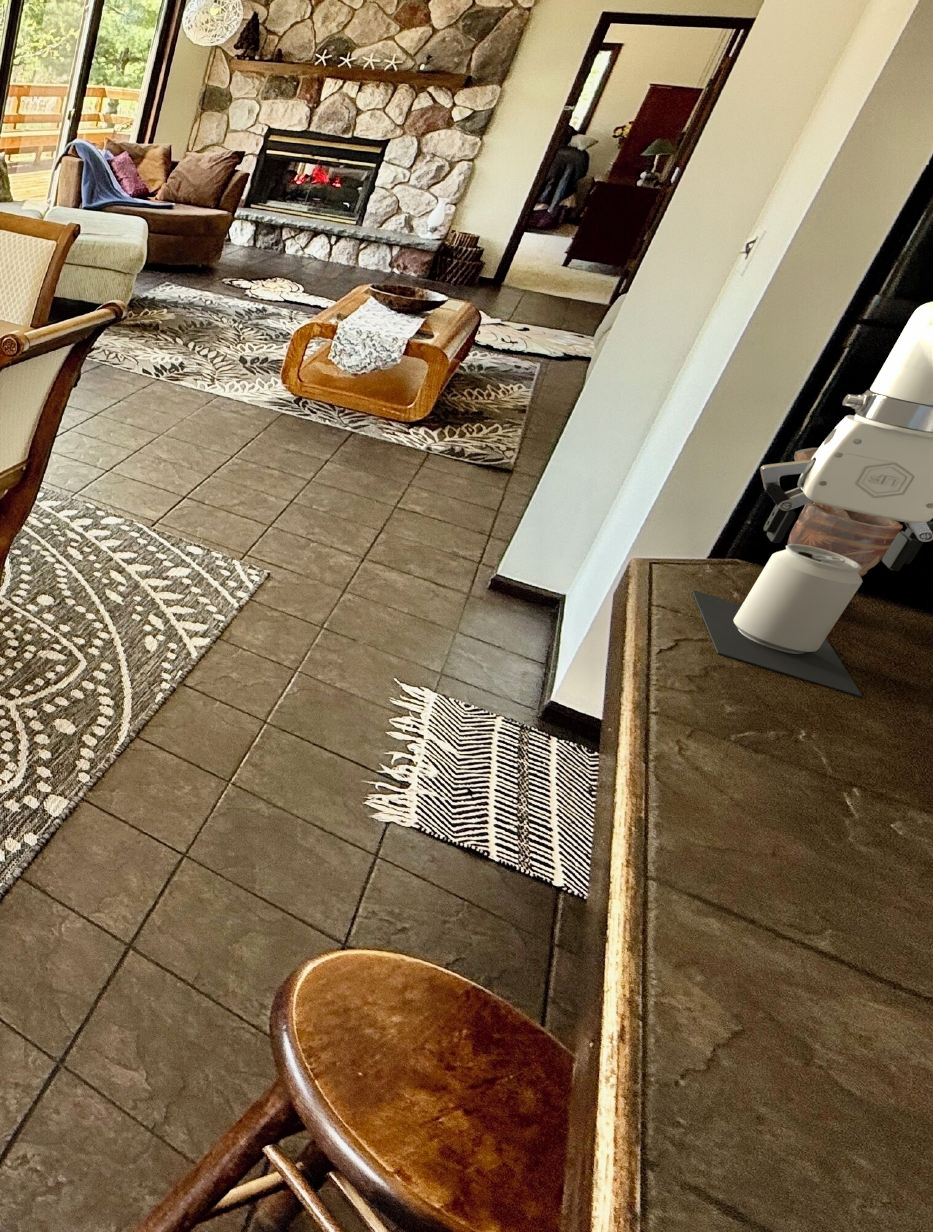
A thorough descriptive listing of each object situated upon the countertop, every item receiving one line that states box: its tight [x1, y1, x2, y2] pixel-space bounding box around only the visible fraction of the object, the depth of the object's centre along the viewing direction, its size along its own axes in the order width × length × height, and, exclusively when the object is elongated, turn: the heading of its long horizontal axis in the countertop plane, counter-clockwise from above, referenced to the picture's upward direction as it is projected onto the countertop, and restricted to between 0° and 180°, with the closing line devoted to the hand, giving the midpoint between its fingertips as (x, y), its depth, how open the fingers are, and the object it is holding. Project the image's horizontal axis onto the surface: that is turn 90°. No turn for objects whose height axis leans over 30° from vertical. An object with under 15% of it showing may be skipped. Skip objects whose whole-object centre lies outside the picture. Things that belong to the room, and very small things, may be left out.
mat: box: [691, 589, 863, 698], centre depth 113 cm, size 12×20×1 cm, turn 142°
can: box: [733, 544, 864, 654], centre depth 110 cm, size 8×8×12 cm
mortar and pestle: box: [787, 447, 904, 578], centre depth 121 cm, size 12×9×20 cm
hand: (829, 552), depth 108 cm, fingers open, 9 cm apart
